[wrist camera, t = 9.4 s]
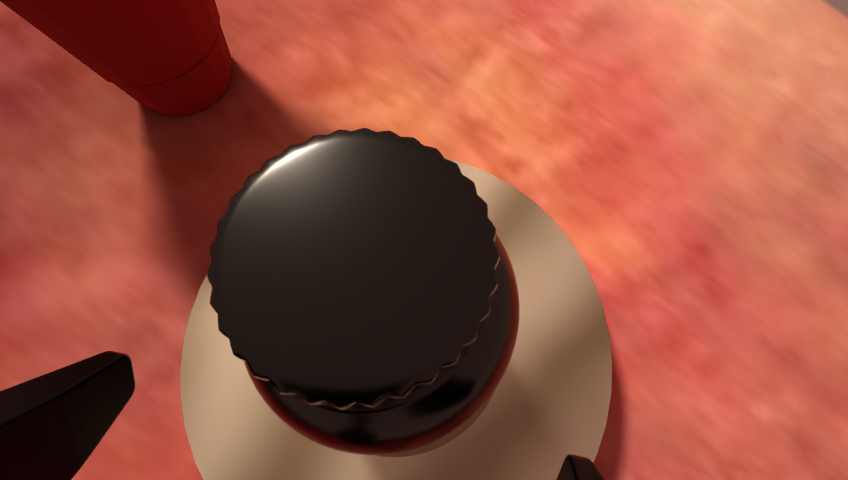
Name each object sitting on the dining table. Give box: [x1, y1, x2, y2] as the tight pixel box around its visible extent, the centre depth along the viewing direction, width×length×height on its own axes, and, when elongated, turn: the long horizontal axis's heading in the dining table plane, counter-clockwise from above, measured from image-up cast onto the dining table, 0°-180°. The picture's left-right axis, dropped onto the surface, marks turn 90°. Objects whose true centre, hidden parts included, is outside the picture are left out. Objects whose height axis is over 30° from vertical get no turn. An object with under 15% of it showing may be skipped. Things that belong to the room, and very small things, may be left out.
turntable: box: [180, 158, 612, 480], centre depth 19 cm, size 18×18×2 cm
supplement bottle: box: [207, 128, 519, 455], centre depth 13 cm, size 7×7×12 cm
